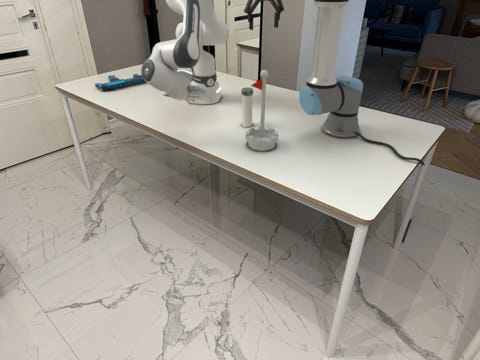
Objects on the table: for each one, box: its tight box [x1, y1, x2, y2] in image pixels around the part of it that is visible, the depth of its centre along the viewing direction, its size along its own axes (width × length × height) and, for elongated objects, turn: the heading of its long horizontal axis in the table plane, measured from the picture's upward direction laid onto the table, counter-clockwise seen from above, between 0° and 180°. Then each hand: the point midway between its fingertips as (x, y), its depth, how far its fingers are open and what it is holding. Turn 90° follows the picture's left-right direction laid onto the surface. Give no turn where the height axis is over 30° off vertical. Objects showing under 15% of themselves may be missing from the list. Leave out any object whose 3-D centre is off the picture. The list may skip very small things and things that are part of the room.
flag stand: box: [245, 69, 279, 152], centre depth 130 cm, size 13×13×30 cm
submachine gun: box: [94, 73, 147, 91], centre depth 208 cm, size 34×4×25 cm
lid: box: [241, 86, 254, 96], centre depth 147 cm, size 5×5×2 cm
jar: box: [241, 94, 253, 128], centre depth 151 cm, size 4×4×16 cm
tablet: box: [177, 69, 193, 83], centre depth 216 cm, size 32×20×1 cm, turn 41°
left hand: (202, 100), depth 139 cm, fingers open, 8 cm apart
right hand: (263, 28), depth 163 cm, fingers open, 13 cm apart
